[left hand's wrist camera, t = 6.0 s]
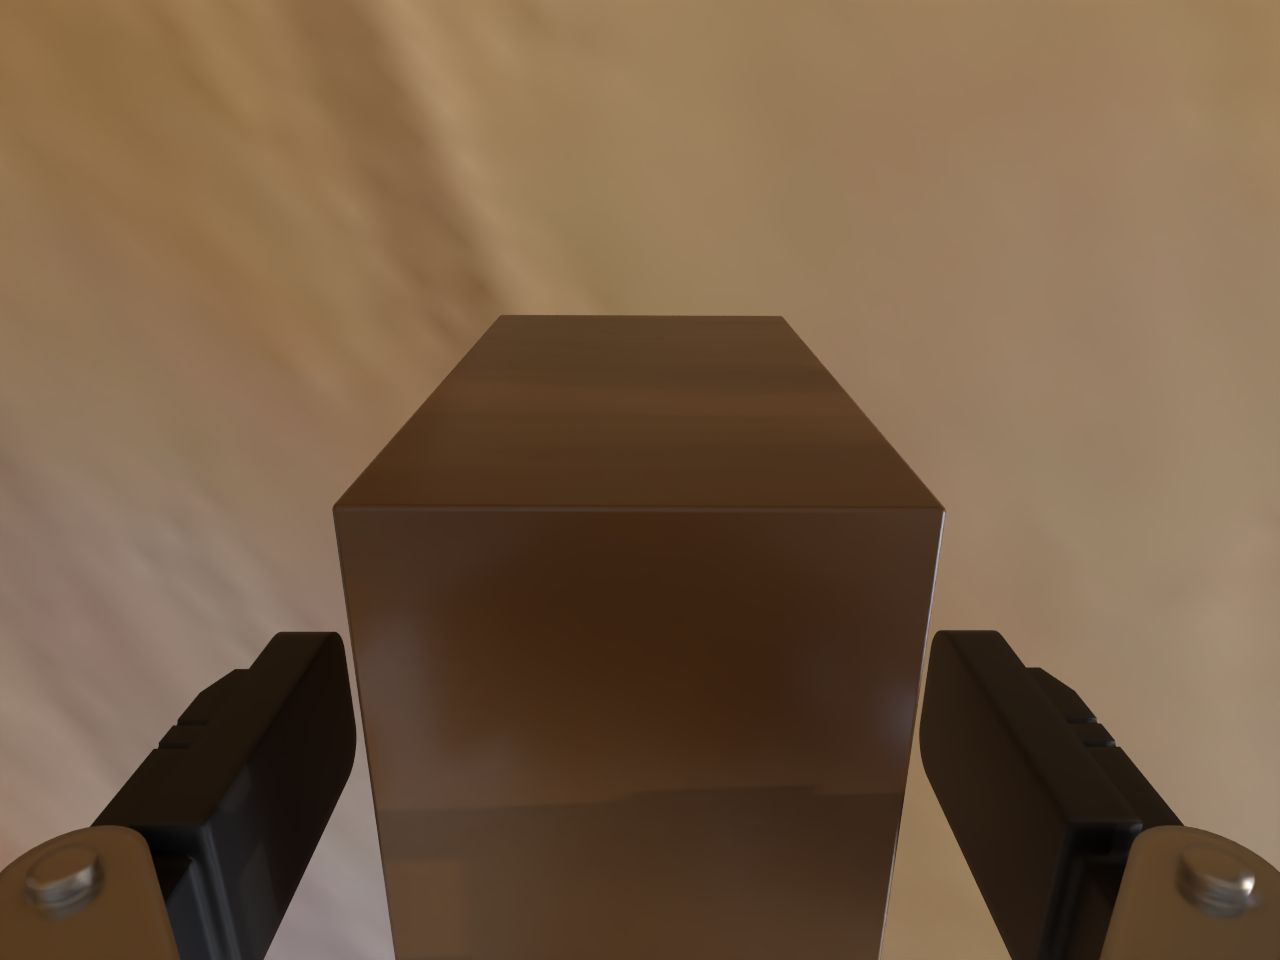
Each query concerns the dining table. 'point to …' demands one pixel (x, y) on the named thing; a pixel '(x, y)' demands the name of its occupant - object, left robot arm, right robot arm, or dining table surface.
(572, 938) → the bar
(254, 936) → the left robot arm
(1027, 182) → the dining table surface
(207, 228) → the dining table surface
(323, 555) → the dining table surface
